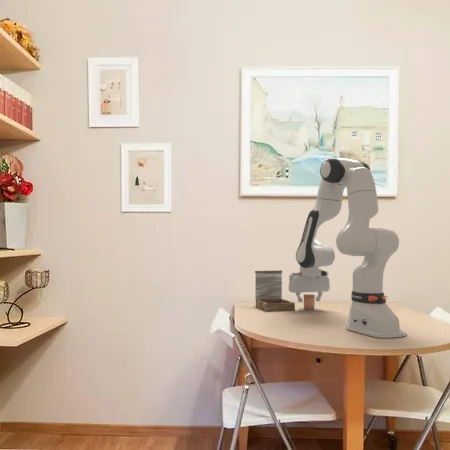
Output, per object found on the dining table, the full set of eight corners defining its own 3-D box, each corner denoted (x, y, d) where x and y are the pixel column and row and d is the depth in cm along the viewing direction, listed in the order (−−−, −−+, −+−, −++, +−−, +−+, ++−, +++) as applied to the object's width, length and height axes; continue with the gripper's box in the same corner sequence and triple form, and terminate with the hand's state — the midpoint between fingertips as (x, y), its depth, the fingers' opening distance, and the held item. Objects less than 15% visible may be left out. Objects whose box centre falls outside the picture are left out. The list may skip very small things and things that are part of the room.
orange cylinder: (316, 310, 193) (316, 295, 193) (306, 311, 192) (307, 295, 192) (311, 308, 198) (311, 294, 198) (301, 309, 197) (301, 294, 197)
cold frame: (295, 311, 194) (295, 273, 194) (266, 312, 189) (267, 273, 190) (281, 306, 208) (281, 270, 208) (254, 307, 203) (255, 270, 204)
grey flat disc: (324, 312, 192) (324, 311, 192) (304, 313, 189) (304, 312, 189) (312, 308, 201) (312, 307, 201) (294, 309, 198) (294, 308, 198)
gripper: (292, 273, 189) (292, 303, 189) (331, 272, 195) (331, 301, 195) (286, 272, 195) (286, 301, 195) (324, 271, 201) (324, 299, 201)
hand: (309, 301), depth 195 cm, fingers open, 8 cm apart
